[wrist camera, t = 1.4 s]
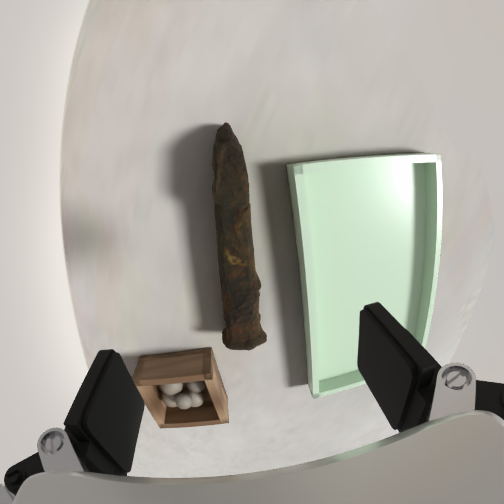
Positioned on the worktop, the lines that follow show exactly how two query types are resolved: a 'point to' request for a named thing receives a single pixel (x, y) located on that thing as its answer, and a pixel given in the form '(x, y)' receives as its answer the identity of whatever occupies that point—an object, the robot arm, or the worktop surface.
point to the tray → (363, 253)
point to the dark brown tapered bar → (235, 244)
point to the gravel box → (182, 388)
